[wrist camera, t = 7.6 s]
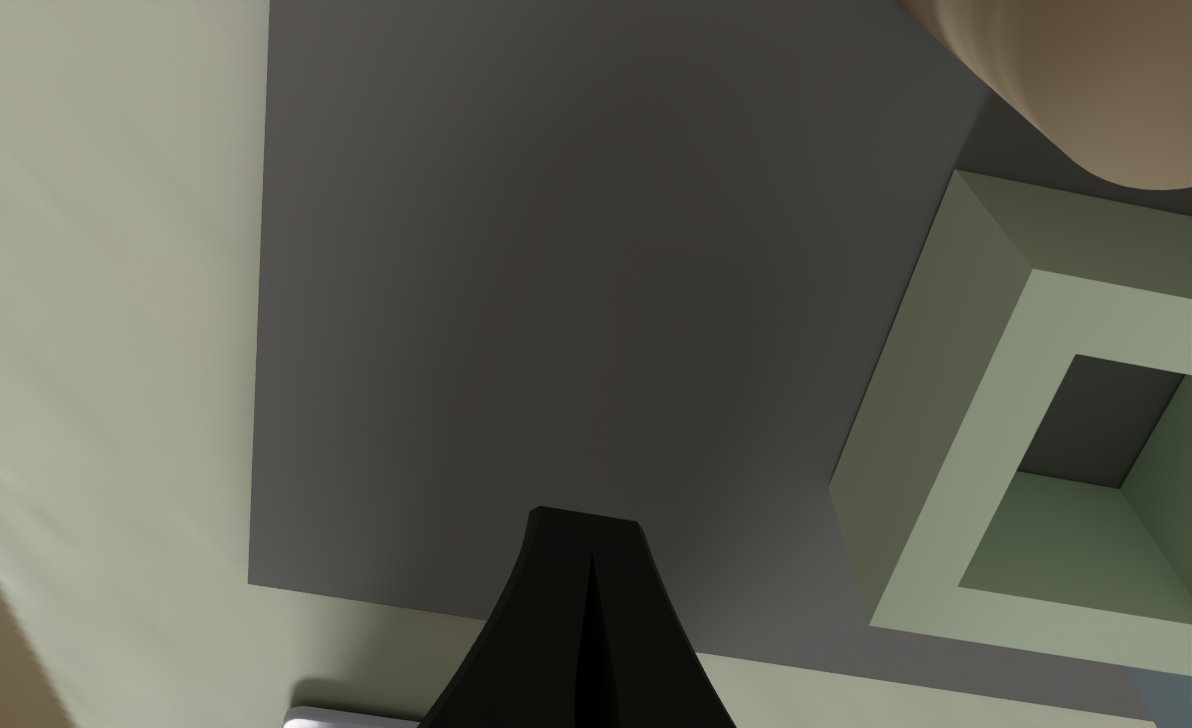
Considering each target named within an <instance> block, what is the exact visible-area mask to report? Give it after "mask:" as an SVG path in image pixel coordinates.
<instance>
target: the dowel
mask: <svg viewBox="0 0 1192 728" xmlns="http://www.w3.org/2000/svg"><path fill="white" fill-rule="evenodd" d="M895 1H896V2H897V4H898V5H899V6H900V7H901V8H902V9H903V10H904V11H905V12H906V13H907V14H908V15H910V16H911V17H912V18H913V19H914V20H915V21H916V22H917V23H919V24H920V25H921V26H922V27H923V28H924V29H925V30H926V31H928V32H929V33H930V34H931V35H932V36H933V37H934V38H935V39H937V40H938V41H939V42H940V43H941V44H942V45H943V46H944V47H946V48H947V49H948V50H949V51H950V52H951V53H952V54H954V55H955V56H956V57H957V58H958V59H959V60H960V61H961V62H963V63H964V64H965V65H966V66H967V67H968V68H969V69H970V70H972V71H973V72H974V73H975V74H976V75H977V76H978V77H979V78H981V79H982V80H983V81H984V82H985V83H986V84H987V85H988V86H990V87H991V88H992V89H993V90H994V91H995V92H996V93H997V94H999V95H1000V96H1001V97H1002V98H1003V99H1004V100H1005V101H1007V102H1008V103H1009V104H1010V105H1011V106H1012V107H1013V108H1014V109H1016V110H1017V111H1018V112H1019V113H1020V114H1021V115H1022V116H1023V117H1025V118H1026V119H1027V120H1028V121H1029V122H1030V123H1031V124H1032V125H1034V126H1035V127H1036V128H1037V129H1038V130H1039V131H1040V132H1041V133H1043V134H1044V135H1045V136H1046V137H1047V138H1048V139H1049V140H1050V141H1052V142H1053V143H1054V144H1055V145H1056V146H1057V147H1058V148H1060V149H1061V150H1062V151H1063V152H1064V153H1065V154H1066V155H1067V156H1069V157H1070V158H1071V159H1072V160H1073V161H1074V162H1075V163H1077V164H1078V165H1080V166H1081V167H1083V168H1084V169H1086V170H1087V171H1088V172H1090V173H1092V174H1094V175H1096V176H1098V177H1100V178H1102V179H1104V180H1106V181H1109V182H1113V183H1116V184H1119V185H1122V186H1126V187H1132V188H1138V189H1145V190H1171V189H1182V188H1189V187H1192V0H895Z"/></svg>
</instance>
